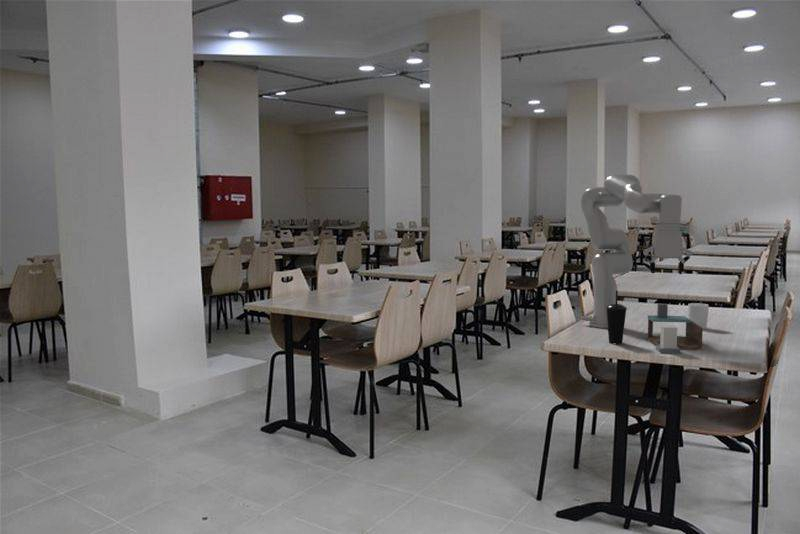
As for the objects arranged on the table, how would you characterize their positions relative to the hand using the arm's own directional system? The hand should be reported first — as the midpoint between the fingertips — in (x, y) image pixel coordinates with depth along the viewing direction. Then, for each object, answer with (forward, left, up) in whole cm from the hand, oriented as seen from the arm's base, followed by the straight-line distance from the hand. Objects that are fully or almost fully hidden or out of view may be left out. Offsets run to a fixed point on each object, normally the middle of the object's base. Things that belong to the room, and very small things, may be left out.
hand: (666, 273), depth 249 cm
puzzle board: (+3, -2, -26) cm, 27 cm away
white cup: (+21, +32, -27) cm, 46 cm away
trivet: (-2, -16, -26) cm, 31 cm away
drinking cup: (-18, -3, -27) cm, 32 cm away
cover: (+2, +3, -18) cm, 19 cm away
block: (-2, -16, -25) cm, 30 cm away
